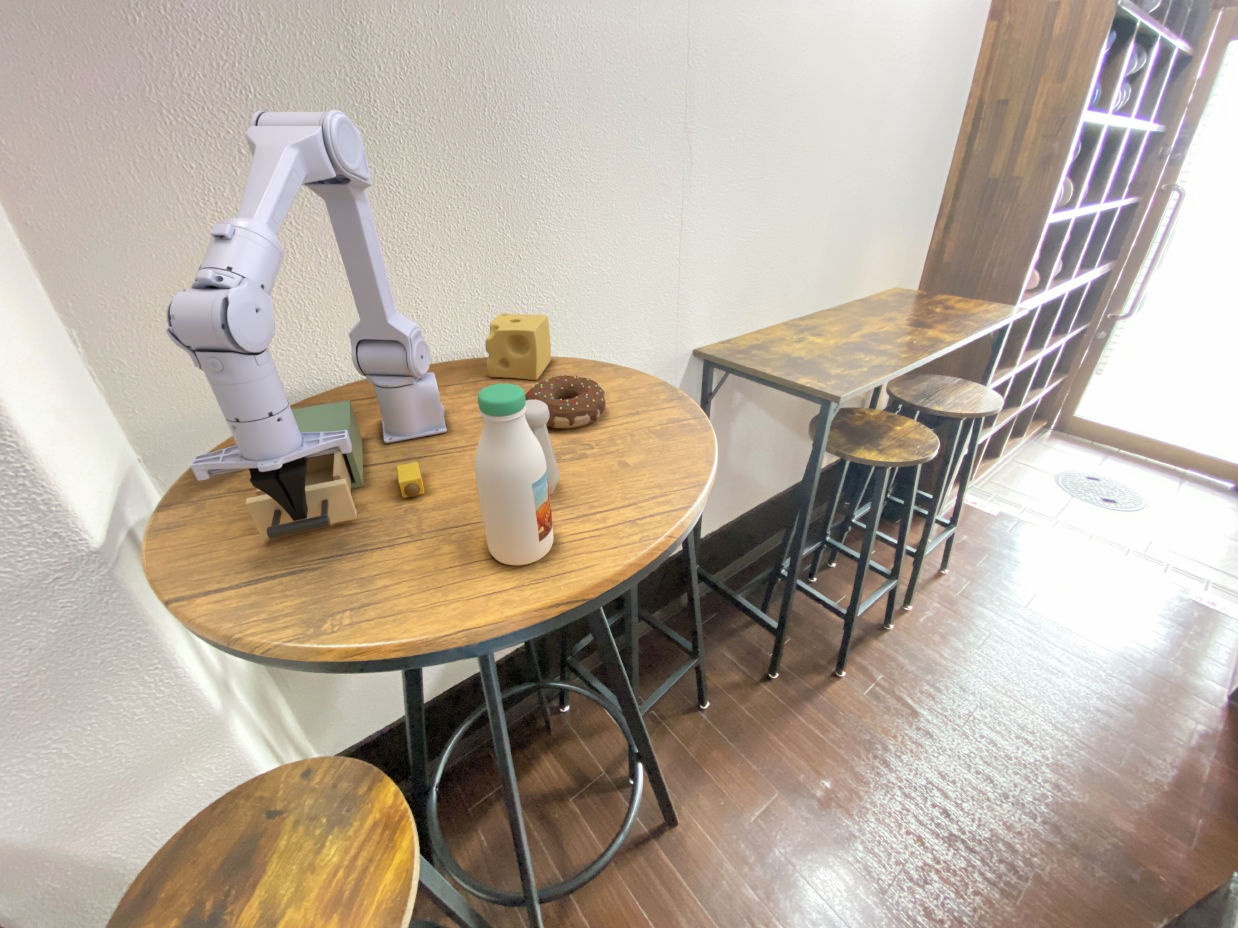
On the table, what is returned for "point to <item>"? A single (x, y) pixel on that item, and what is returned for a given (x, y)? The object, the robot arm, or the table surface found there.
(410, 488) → the yellow knobbed cube
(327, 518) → the drawer
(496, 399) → the milk bottle
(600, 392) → the donut
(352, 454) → the cabinet
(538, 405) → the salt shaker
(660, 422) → the table surface
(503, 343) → the cheese
